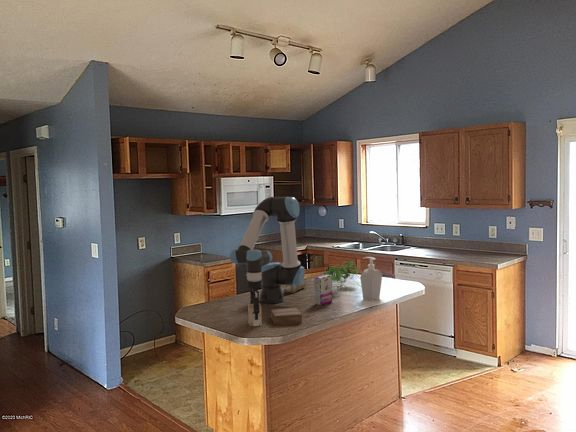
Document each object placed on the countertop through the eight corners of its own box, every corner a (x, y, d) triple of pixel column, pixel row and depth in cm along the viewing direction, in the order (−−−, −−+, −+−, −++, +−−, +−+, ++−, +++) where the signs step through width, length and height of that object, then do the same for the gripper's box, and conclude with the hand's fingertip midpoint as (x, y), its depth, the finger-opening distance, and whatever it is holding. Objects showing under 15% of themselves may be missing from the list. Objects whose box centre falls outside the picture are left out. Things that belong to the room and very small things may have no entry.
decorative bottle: (296, 287, 350) (296, 277, 350) (306, 288, 347) (306, 278, 346) (278, 295, 327) (278, 285, 327) (289, 296, 324) (289, 286, 323)
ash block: (248, 322, 266) (248, 304, 265) (259, 322, 267) (259, 303, 266) (249, 326, 260) (249, 306, 259) (261, 325, 261) (261, 306, 260)
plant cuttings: (362, 295, 353) (340, 273, 363) (376, 277, 346) (353, 255, 356) (337, 306, 325) (313, 282, 334) (351, 286, 318) (327, 262, 327)
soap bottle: (367, 295, 323) (368, 255, 321) (382, 297, 317) (382, 256, 315) (357, 299, 314) (357, 257, 312) (372, 301, 307) (372, 259, 305)
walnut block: (270, 318, 275) (270, 309, 275) (296, 316, 278) (296, 307, 278) (275, 325, 262) (275, 316, 261) (301, 323, 264) (301, 314, 264)
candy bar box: (325, 300, 311) (325, 274, 310) (332, 302, 307) (332, 275, 306) (314, 304, 303) (314, 277, 301) (320, 305, 299) (320, 278, 298)
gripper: (244, 276, 271) (245, 317, 273) (249, 284, 250) (250, 329, 252) (258, 275, 273) (258, 317, 275) (264, 283, 252) (265, 328, 253)
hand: (254, 323), depth 263 cm, fingers open, 9 cm apart
